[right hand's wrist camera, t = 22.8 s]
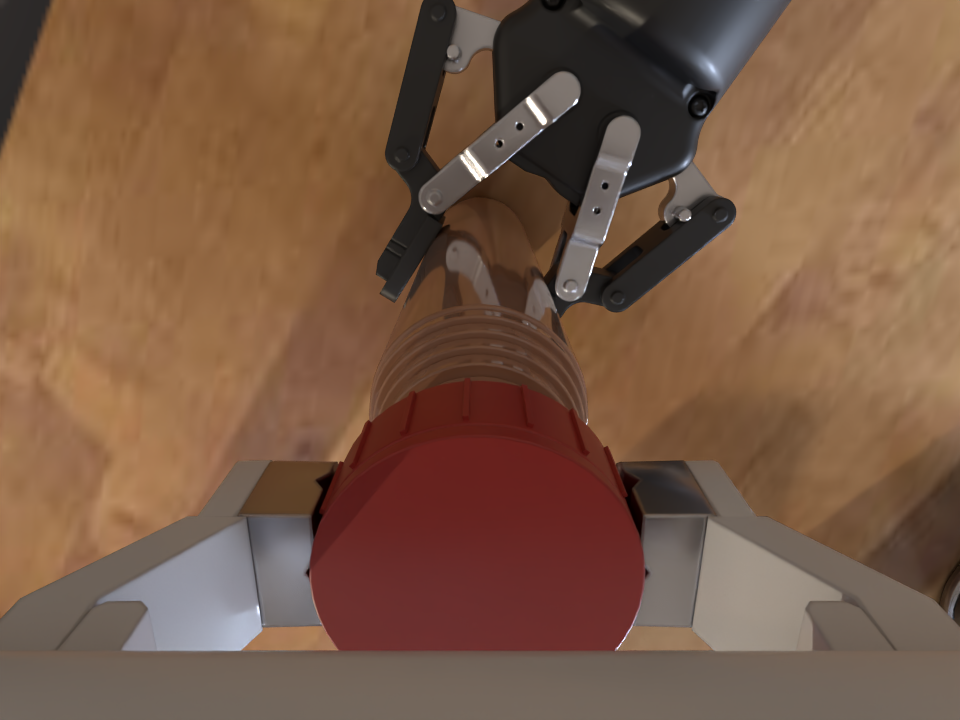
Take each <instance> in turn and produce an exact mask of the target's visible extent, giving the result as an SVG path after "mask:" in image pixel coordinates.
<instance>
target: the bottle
mask: <svg viewBox="0 0 960 720" xmlns="http://www.w3.org/2000/svg"><path fill="white" fill-rule="evenodd" d="M444 216H445V217H446V218H445V221H444V224H443V226H442V228H441V229H440V231H439V232H438V234H437V236H436V237H435V239H434V240H433V242H432V243H431V245H430V246H429V248H428V250H427V251H426V254H425V256H424V258H423V261H422V263H421V265H420V268H419V270H418V272H417V275H416V277H415V280H414V282H413V284H412V287H411V289H410V291H409V294H408V296H407V298H406V301H405V303H404V306H403V308H402V310H401V313H400V315H399V317H398V320H397V322H396V325H395V327H394V329H393V332H392V334H391V336H390V339H389V341H388V343H387V346H386V348H385V351H384V353H383V355H382V358H381V360H380V362H379V365H378V367H377V370H376V373H375V375H374V379H373V383H372V388H371V396H370V408H369V420H370V421H371V422H372V421H373V420H374V419H375V418H376V417H377V416H379V415H380V414H381V413H382V412H384V411H385V410H386V409H388V408H389V407H390V406H392V405H394V404H395V403H397V402H399V401H400V400H402V399H404V398H406V397H408V395H409V392H411V391H415V393H417V392H419V391H422V390H424V389H428V388H431V387H435V386H438V385H442V384H447V383H454V382H461V381H464V379H465V378H470V381H492V382H503V383H507V384H512V385H517V386H521V385H522V384H524V385H527V386H528V389H530V390H533V391H536V392H538V393H541V394H543V395H545V396H547V397H549V398H551V399H553V400H555V401H557V402H559V403H560V404H562V405H563V406H564V407H566V408H567V409H569V410H571V409H572V408H573V409H575V410H576V411H577V414H578V417H579V418H580V419H581V420H582V421H583V422H584V423H585V424H587V426H588V404H587V403H588V401H587V391H586V385H585V381H584V377H583V374H582V372H581V369H580V367H579V364H578V362H577V359H576V357H575V354H574V352H573V349H572V347H571V344H570V342H569V339H568V337H567V334H566V332H565V329H564V327H563V324H562V322H561V319H560V317H559V314H558V312H557V309H556V307H555V304H554V302H553V299H552V297H551V294H550V292H549V289H548V287H547V284H546V282H545V279H544V277H543V274H542V272H541V270H540V267H539V265H538V262H537V260H536V257H535V255H534V252H533V250H532V247H531V245H530V242H529V240H528V237H527V235H526V232H525V230H524V227H523V225H522V223H521V221H520V219H519V218H518V216H517V215H516V214H515V213H514V212H513V210H512V209H510V208H509V207H508V206H507V205H505V204H503V203H502V202H499V201H497V200H494V199H491V198H484V197H476V198H469V199H466V200H463V201H461V202H459V203H457V204H455V205H454V206H452V207H451V208H450V209H449V210H448V211H447V212H446V213H445V214H444Z"/></svg>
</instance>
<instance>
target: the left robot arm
mask: <svg viewBox="0 0 960 720" xmlns="http://www.w3.org/2000/svg"><path fill="white" fill-rule="evenodd" d="M790 2H791V0H529V1H528V2H527V3H525V4H524V5H523V6H522V7H520V8H519V9H517V10H515V11H513V12H512V13H510V14H509V15H507V16H506V17H505V18H504V19H503V20H502V21H501V22H500V21H497V20H494V19H492V18H489V17H486V16H483V15H480V14H477V13H474V12H471V11H469V10H466V9H463V8H460V7H457V6H455V4H454V2H453V0H424V1H423V3H422V5H421V9H420V13H419V17H418V21H417V25H416V29H415V33H414V37H413V41H412V45H411V49H410V53H409V57H408V61H407V65H406V69H405V73H404V77H403V81H402V85H401V89H400V93H399V97H398V101H397V105H396V109H395V114H394V118H393V122H392V126H391V130H390V134H389V138H388V142H387V146H386V150H385V157H386V160H387V162H388V164H389V165H390V167H392V168H393V169H394V170H396V171H397V173H398V174H399V175H400V177H401V178H402V179H403V180H404V182H405V183H406V184H407V186H408V187H409V189H410V192H411V205H410V208H409V210H408V212H407V213H406V215H405V217H404V218H403V220H402V222H401V223H400V225H399V227H398V228H397V230H396V232H395V233H394V235H393V237H392V238H391V240H390V242H389V243H388V245H387V247H386V248H385V250H384V252H383V253H382V255H381V257H380V258H379V260H378V264H377V271H376V275H378V276H379V277H381V278H382V279H384V280H386V281H387V282H386V284H385V285H384V287H383V289H382V290H381V292H380V294H381V295H382V296H384V297H386V298H387V299H389V300H391V301H392V302H394V303H395V301H396V300H397V298H398V297H399V295H400V294H401V292H402V290H403V289H404V287H405V286H406V284H407V282H408V281H409V279H410V278H411V276H412V274H413V273H414V271H415V270H416V268H417V266H418V265H419V263H420V261H421V260H422V258H423V257H424V255H425V253H426V251H427V250H428V248H429V246H430V245H431V243H432V242H433V240H434V239H435V237H436V236H437V234H438V232H439V231H440V229H441V228H442V226H443V224H444V221H445V218H446V217H445V216H444V213H445V211H446V210H447V209H448V208H449V207H450V206H452V205H453V204H454V203H455V202H456V201H458V200H459V199H460V198H461V197H462V196H464V195H465V194H466V193H467V192H468V191H470V190H471V189H472V188H473V187H474V186H476V185H477V184H478V183H479V182H480V181H482V180H483V179H485V178H486V177H488V176H489V175H490V174H491V173H493V172H494V171H495V170H496V169H497V168H499V167H500V166H501V165H502V164H503V163H505V162H506V161H507V160H510V161H511V162H513V163H514V164H516V165H517V166H519V167H520V168H522V169H523V170H524V171H527V172H530V173H533V174H536V175H539V176H542V177H544V178H545V179H546V180H547V181H548V182H549V184H550V185H551V186H552V187H553V188H554V189H555V190H556V191H557V192H558V193H559V194H560V195H561V196H563V197H564V198H566V199H567V200H568V203H567V206H566V209H565V213H564V216H563V220H562V226H561V232H560V236H559V239H558V242H557V246H556V249H555V252H554V256H553V259H552V262H551V266H550V269H549V271H548V273H547V274H546V275H545V277H544V279H545V282H546V284H547V287H548V289H549V292H550V294H551V297H552V299H553V302H554V304H555V307H556V309H557V312H558V314H559V317H560V318H561V317H562V315H563V314H564V313H565V311H566V310H567V309H568V308H569V307H570V306H572V305H573V304H576V303H579V302H586V303H591V304H596V305H600V306H604V307H605V308H606V309H607V310H609V311H611V312H622V311H624V310H626V309H627V308H628V307H630V306H631V305H632V304H633V303H635V302H636V301H637V300H638V299H640V298H641V297H642V296H643V295H644V294H646V293H647V292H648V291H649V290H651V289H652V288H653V287H654V286H656V285H657V284H658V283H659V282H661V281H662V280H663V279H664V278H666V277H667V276H668V275H669V274H671V273H672V272H673V271H674V270H676V269H677V268H678V267H679V266H681V265H682V264H683V263H684V262H686V261H687V260H688V259H689V258H691V257H692V256H693V255H694V254H696V253H697V252H698V251H699V250H701V249H702V248H703V247H704V246H706V245H707V244H708V243H709V242H711V241H712V240H713V239H714V238H716V237H717V236H718V235H719V234H721V233H722V232H723V231H724V230H726V229H727V228H728V227H729V226H730V225H731V224H732V223H733V222H734V220H735V217H736V208H735V205H734V204H733V202H731V201H730V200H729V199H726V198H724V197H722V196H719V195H717V194H716V192H715V191H714V190H713V188H712V187H711V186H710V184H709V183H708V182H707V180H706V179H705V178H704V176H703V175H702V174H701V172H700V171H699V169H698V168H697V167H696V165H695V164H694V163H693V159H694V157H695V154H696V150H697V144H698V138H699V134H700V131H701V128H702V126H703V124H704V122H705V120H706V118H707V117H708V115H709V114H710V113H711V111H712V110H713V109H714V107H715V106H716V105H717V103H718V102H719V101H720V99H721V98H722V96H723V95H724V94H725V92H726V91H727V89H728V88H729V87H730V85H731V84H732V82H733V81H734V80H735V78H736V77H737V75H738V74H739V73H740V71H741V70H742V69H743V67H744V66H745V64H746V63H747V62H748V60H749V59H750V57H751V56H752V55H753V53H754V52H755V50H756V49H757V48H758V46H759V45H760V43H761V42H762V41H763V39H764V38H765V36H766V35H767V34H768V32H769V31H770V29H771V28H772V27H773V25H774V24H775V23H776V21H777V20H778V18H779V17H780V15H781V14H782V13H783V11H784V10H785V8H786V7H787V6H788V4H789V3H790ZM481 51H492V58H493V81H494V104H495V123H494V124H493V125H492V126H490V127H489V128H488V129H487V130H486V131H485V132H483V133H482V134H481V135H480V136H479V137H478V138H476V139H475V140H474V141H473V142H472V143H471V144H469V145H468V146H467V147H466V148H465V149H464V150H463V151H461V152H460V153H459V154H458V155H457V156H456V157H454V158H453V159H452V160H451V161H450V162H449V163H447V164H446V165H445V166H444V167H443V168H442V169H439V167H438V166H437V165H436V163H435V162H434V161H433V159H432V158H431V157H430V155H429V154H428V153H427V151H426V150H425V149H426V145H427V141H428V138H429V134H430V130H431V127H432V123H433V119H434V115H435V112H436V108H437V104H438V101H439V97H440V93H441V89H442V86H443V82H444V78H445V74H446V72H448V73H451V74H459V73H462V72H463V71H465V70H466V69H467V68H468V66H469V64H470V62H471V60H472V58H473V57H474V56H475V55H476V54H477V53H479V52H481ZM497 141H498V143H499V144H498V145H497V144H496V142H497ZM665 180H668V181H669V191H668V194H667V195H666V197H665V198H664V199H663V200H662V201H661V203H660V205H659V208H658V215H659V218H660V221H659V222H658V223H657V224H655V225H654V226H653V227H652V228H651V229H649V230H648V231H647V232H646V233H644V234H643V235H642V236H641V237H640V238H638V239H637V240H636V241H635V242H634V243H632V244H631V245H630V246H629V247H628V248H626V249H625V250H624V251H623V252H622V253H620V254H619V255H618V256H617V257H615V258H614V259H613V260H612V261H611V262H609V263H608V264H607V265H606V266H605V267H603V268H602V269H601V268H597V267H593V265H594V262H595V259H596V256H597V253H598V250H599V248H600V247H601V246H602V244H603V243H604V241H605V238H606V235H607V232H608V229H609V226H610V223H611V220H612V217H613V214H614V211H615V208H616V205H617V201H618V199H619V198H621V197H624V196H626V195H629V194H632V193H634V192H637V191H639V190H642V189H644V188H647V187H650V186H652V185H655V184H657V183H660V182H663V181H665ZM940 607H941V608H942V609H943V610H944V611H945V612H946V613H947V614H948V615H949V616H950V617H951V618H952V619H953V620H954V621H955V622H956V624H957V625H958V626H959V627H960V565H959V566H958V567H957V568H956V569H955V571H954V572H953V574H952V575H951V576H950V578H949V580H948V582H947V584H946V586H945V588H944V590H943V593H942V597H941V602H940Z"/></svg>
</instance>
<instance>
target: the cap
mask: <svg viewBox="0 0 960 720" xmlns="http://www.w3.org/2000/svg"><path fill="white" fill-rule="evenodd" d="M627 496H628V495H627V492H626V490H625V487H624V485H623V482H622V480H621V477H620V474H619V472H618V469H617V467H616V464H615V462H614V459H613V457H612V454H611V452H610V449H609V448H608V446H606V447H603V445H602V444H601V442H600V441H599V439H598V438H597V436H596V435H595V434H594V433H593V432H592V430H591V429H590V428H589V427H588V426H587V424H585V423H584V422H583V421H582V420H581V419H580V418H579V417H578V414H577V411H576V410H575V409H573V408H572V409H571V410H569V409H567V408H566V407H564V406H563V405H562V404H560V403H559V402H557V401H555V400H553V399H551V398H549V397H547V396H545V395H543V394H541V393H538V392H536V391H533V390H530V389H528V386H527V385H524V384H522V385H521V386H517V385H512V384H507V383H503V382H492V381H470V378H465V379H464V381H461V382H454V383H447V384H442V385H438V386H435V387H431V388H428V389H424V390H422V391H419V392H417V393H415V391H411V392H409V395H408V397H406V398H404V399H402V400H400V401H399V402H397V403H395V404H394V405H392V406H390V407H389V408H388V409H386V410H385V411H384V412H382V413H381V414H380V415H379V416H377V417H376V418H375V419H374V420H373V421H372V422H371V421H369V420H368V421H367V422H366V423H365V425H364V428H363V430H362V433H361V434H360V436H359V437H358V438H357V440H356V441H355V442H354V444H353V445H352V447H351V449H350V451H349V453H348V455H347V457H346V459H345V461H344V462H341V461H340V462H339V465H338V467H337V470H336V472H335V474H334V477H333V479H332V482H331V484H330V487H329V489H328V491H327V494H326V496H325V499H324V501H323V504H322V506H321V508H320V511H319V513H320V514H323V516H322V519H321V521H320V524H319V526H318V529H317V532H316V535H315V538H314V541H313V544H312V550H311V556H310V567H309V580H310V587H311V594H312V599H313V602H314V606H315V609H316V612H317V615H318V617H319V620H320V622H321V624H322V626H323V628H324V630H325V632H326V633H327V635H328V636H329V638H330V639H331V641H332V642H333V644H334V645H335V647H336V648H337V649H338V650H339V651H616V650H617V649H618V647H619V646H620V645H621V644H622V642H623V641H624V639H625V638H626V636H627V634H628V633H629V631H630V629H631V627H632V626H633V624H634V621H635V619H636V616H637V614H638V611H639V609H640V605H641V601H642V596H643V592H644V584H645V561H644V552H643V548H642V544H641V540H640V536H639V533H638V530H637V528H636V525H635V523H634V520H633V517H632V515H631V512H630V509H629V507H628V504H627V502H626V499H625V497H627Z"/></svg>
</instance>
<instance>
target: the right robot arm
mask: <svg viewBox="0 0 960 720" xmlns="http://www.w3.org/2000/svg"><path fill="white" fill-rule="evenodd" d="M337 467H338V462H322V461H272V460H248V461H238V462H237V463H236V464H235V465H234V466H233V468H232V469H231V471H230V472H229V473H228V475H227V476H226V478H225V479H224V480H223V482H222V483H221V484H220V486H219V487H218V489H217V490H216V491H215V493H214V494H213V496H212V497H211V498H210V500H209V501H208V502H207V504H206V505H205V507H204V508H203V509H202V511H201V512H200V514H199V515H198V516H187V517H185V518H183V519H181V520H179V521H177V522H175V523H173V524H171V525H169V526H167V527H165V528H163V529H161V530H159V531H157V532H155V533H153V534H150V535H148V536H146V537H144V538H142V539H140V540H138V541H136V542H134V543H132V544H130V545H128V546H126V547H124V548H122V549H120V550H118V551H116V552H114V553H112V554H110V555H108V556H106V557H104V558H102V559H100V560H98V561H95V562H93V563H91V564H89V565H87V566H85V567H83V568H81V569H79V570H77V571H75V572H73V573H71V574H69V575H67V576H65V577H63V578H61V579H59V580H57V581H55V582H53V583H51V584H49V585H47V586H45V587H42V588H40V589H38V590H36V591H34V592H32V593H30V594H28V595H26V596H24V597H22V598H20V599H19V600H18V601H17V602H16V603H15V604H14V606H13V607H12V608H11V609H10V610H9V611H8V612H7V613H6V614H5V615H4V616H3V617H2V618H1V619H0V720H960V627H959V626H958V625H957V624H956V622H955V621H954V620H953V619H952V618H951V617H950V616H949V615H948V614H947V613H946V612H945V611H944V610H943V609H942V608H941V607H940V606H939V604H938V603H937V602H936V601H935V600H934V599H932V598H930V597H928V596H926V595H924V594H922V593H920V592H918V591H916V590H914V589H912V588H910V587H908V586H906V585H904V584H902V583H900V582H898V581H896V580H894V579H892V578H890V577H888V576H886V575H884V574H882V573H880V572H878V571H876V570H874V569H872V568H870V567H868V566H866V565H864V564H862V563H860V562H858V561H856V560H854V559H852V558H850V557H848V556H845V555H843V554H841V553H839V552H837V551H835V550H833V549H831V548H829V547H827V546H825V545H823V544H821V543H819V542H817V541H815V540H813V539H811V538H809V537H807V536H805V535H803V534H801V533H799V532H797V531H795V530H793V529H791V528H789V527H787V526H785V525H783V524H781V523H779V522H777V521H775V520H773V519H771V518H769V517H767V516H756V515H755V513H754V512H753V511H752V509H751V508H750V506H749V505H748V504H747V502H746V501H745V499H744V498H743V497H742V495H741V494H740V492H739V491H738V490H737V488H736V487H735V485H734V484H733V483H732V481H731V480H730V478H729V477H728V476H727V474H726V473H725V471H724V470H723V469H722V467H721V466H720V464H719V463H718V462H716V461H714V460H696V461H684V460H683V461H641V462H619V463H616V467H617V469H618V472H619V474H620V477H621V480H622V482H623V485H624V487H625V490H626V492H627V495H628V496H627V497H625V499H626V502H627V504H628V507H629V509H630V512H631V515H632V517H633V520H634V523H635V525H636V528H637V530H638V533H639V536H640V540H641V544H642V548H643V552H644V561H645V584H644V592H643V596H642V601H641V605H640V609H639V611H638V614H637V616H636V619H635V621H634V624H633V626H657V627H692V631H693V632H695V633H696V634H697V635H698V636H699V637H700V638H701V639H702V640H703V641H704V642H705V643H707V644H708V645H709V646H710V647H711V648H712V649H713V650H714V651H240V650H242V649H243V648H244V647H245V646H246V645H247V644H248V643H249V642H250V641H252V640H253V639H254V638H255V637H256V636H257V635H258V634H259V633H260V632H261V631H262V627H296V626H322V624H321V622H320V620H319V617H318V615H317V612H316V609H315V606H314V602H313V599H312V594H311V587H310V580H309V567H310V556H311V550H312V544H313V541H314V538H315V535H316V532H317V529H318V526H319V524H320V521H321V519H322V516H323V514H320V513H319V511H320V508H321V506H322V504H323V501H324V499H325V496H326V494H327V491H328V489H329V487H330V484H331V482H332V479H333V477H334V474H335V472H336V470H337Z"/></svg>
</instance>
